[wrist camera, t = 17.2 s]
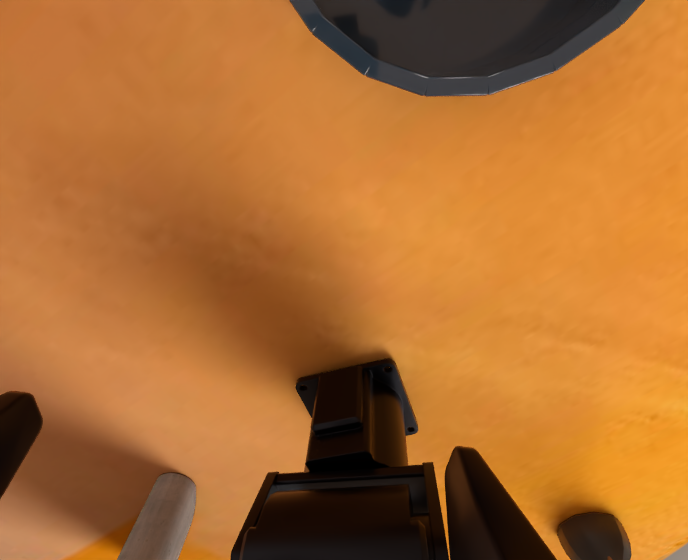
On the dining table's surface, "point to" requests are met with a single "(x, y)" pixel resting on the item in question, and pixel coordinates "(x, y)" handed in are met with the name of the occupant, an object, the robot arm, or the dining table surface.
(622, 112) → the dining table surface
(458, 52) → the saucepan
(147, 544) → the hip flask
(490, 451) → the dining table surface
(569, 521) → the wooden tabletop sculpture
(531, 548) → the robot arm
